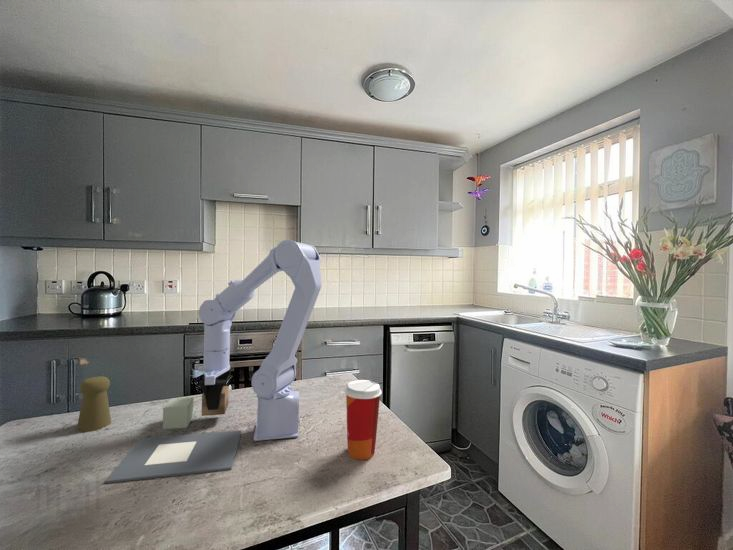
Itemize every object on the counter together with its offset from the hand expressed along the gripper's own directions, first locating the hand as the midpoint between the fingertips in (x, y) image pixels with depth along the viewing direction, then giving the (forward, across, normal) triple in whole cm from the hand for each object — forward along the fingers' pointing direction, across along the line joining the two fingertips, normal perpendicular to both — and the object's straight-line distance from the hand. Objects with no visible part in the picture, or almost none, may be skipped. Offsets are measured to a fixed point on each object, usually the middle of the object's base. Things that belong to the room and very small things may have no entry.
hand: (215, 404), depth 78 cm
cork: (+4, -2, -26) cm, 26 cm away
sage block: (+4, 0, -8) cm, 9 cm away
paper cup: (+4, +20, +32) cm, 38 cm away
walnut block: (+2, 0, 0) cm, 2 cm away
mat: (+4, +14, -3) cm, 15 cm away
